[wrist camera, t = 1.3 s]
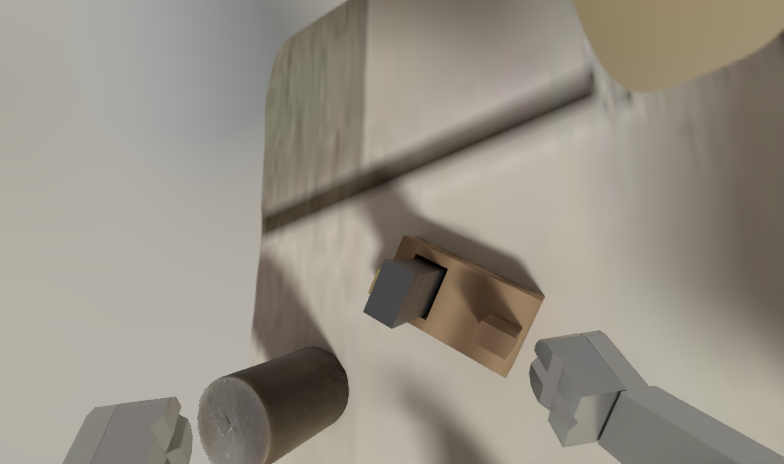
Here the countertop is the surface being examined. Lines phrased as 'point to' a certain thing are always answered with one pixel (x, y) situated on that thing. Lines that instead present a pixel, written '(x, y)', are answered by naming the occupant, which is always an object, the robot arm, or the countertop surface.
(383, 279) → the lever cap
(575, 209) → the countertop surface
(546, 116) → the countertop surface
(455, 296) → the hand plane
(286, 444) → the pillar candle
